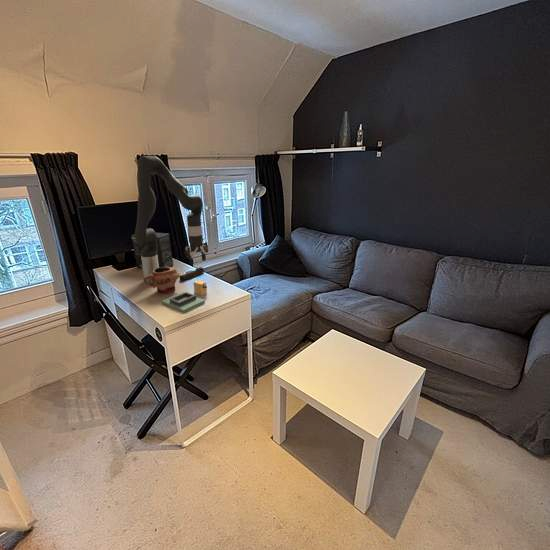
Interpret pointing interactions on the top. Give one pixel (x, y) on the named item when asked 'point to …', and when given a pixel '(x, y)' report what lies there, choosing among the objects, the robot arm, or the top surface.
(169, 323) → the top surface
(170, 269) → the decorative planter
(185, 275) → the hand tool
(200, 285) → the keyed plug
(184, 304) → the board
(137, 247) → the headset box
